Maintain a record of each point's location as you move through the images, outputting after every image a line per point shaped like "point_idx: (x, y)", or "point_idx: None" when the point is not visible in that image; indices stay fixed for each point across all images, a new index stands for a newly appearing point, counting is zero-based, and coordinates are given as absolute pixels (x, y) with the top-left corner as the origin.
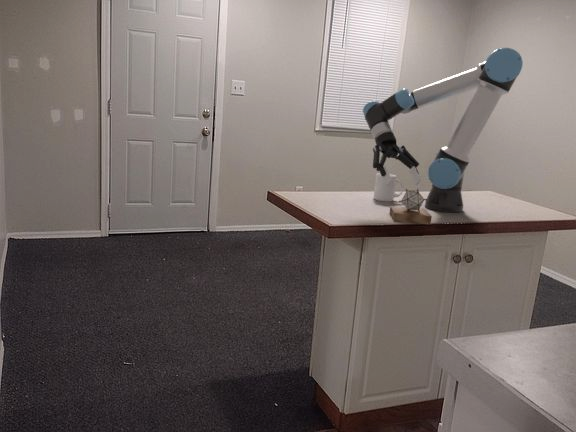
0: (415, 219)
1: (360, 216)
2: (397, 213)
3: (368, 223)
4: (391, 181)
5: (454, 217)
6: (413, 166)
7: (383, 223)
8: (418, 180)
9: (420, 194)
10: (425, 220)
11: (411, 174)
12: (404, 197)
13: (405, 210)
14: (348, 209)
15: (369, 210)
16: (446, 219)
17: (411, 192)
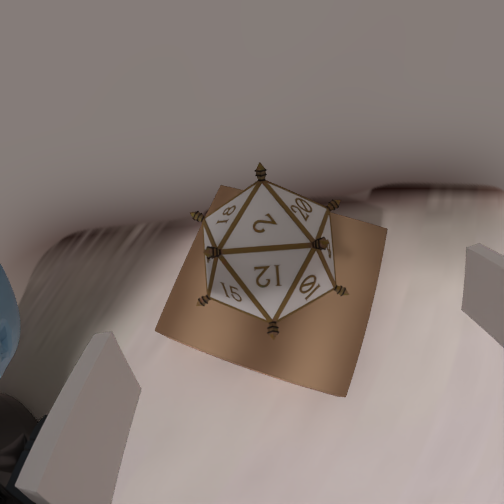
0: None
1: None
2: (373, 225)
3: (475, 212)
4: (466, 255)
5: (45, 325)
6: (33, 487)
7: (426, 213)
8: (114, 349)
9: (210, 232)
10: None
11: (110, 481)
12: (329, 254)
13: None
14: (497, 441)
15: (413, 453)
16: (95, 293)
17: (294, 210)
